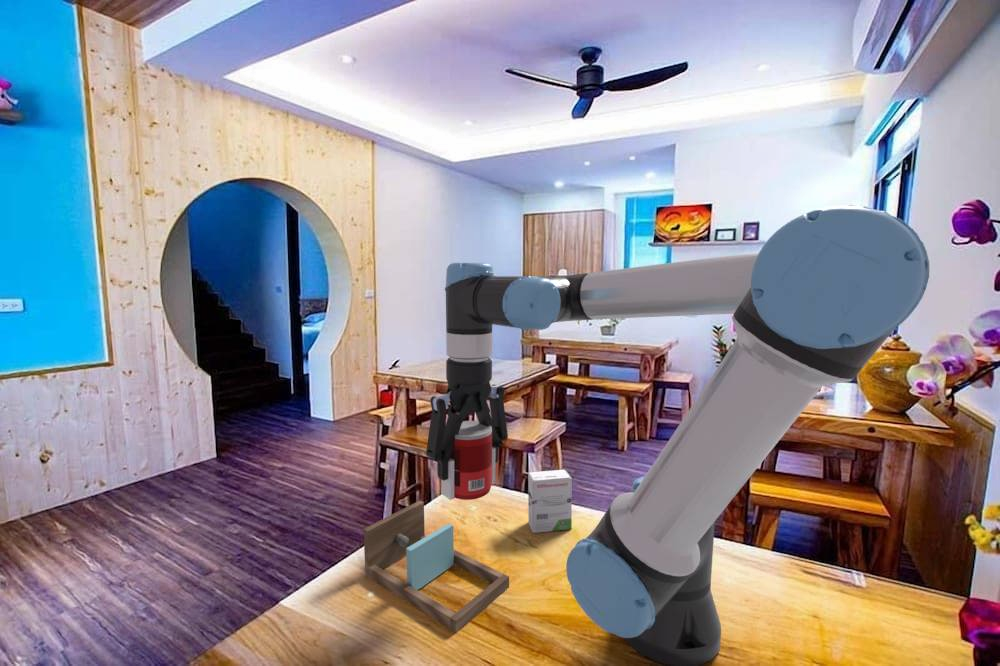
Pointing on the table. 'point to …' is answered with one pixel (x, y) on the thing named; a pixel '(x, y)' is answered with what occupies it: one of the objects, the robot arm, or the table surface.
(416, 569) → the panel
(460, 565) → the brown open rectangular frame
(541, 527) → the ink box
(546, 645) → the table surface
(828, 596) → the table surface
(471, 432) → the canned food
